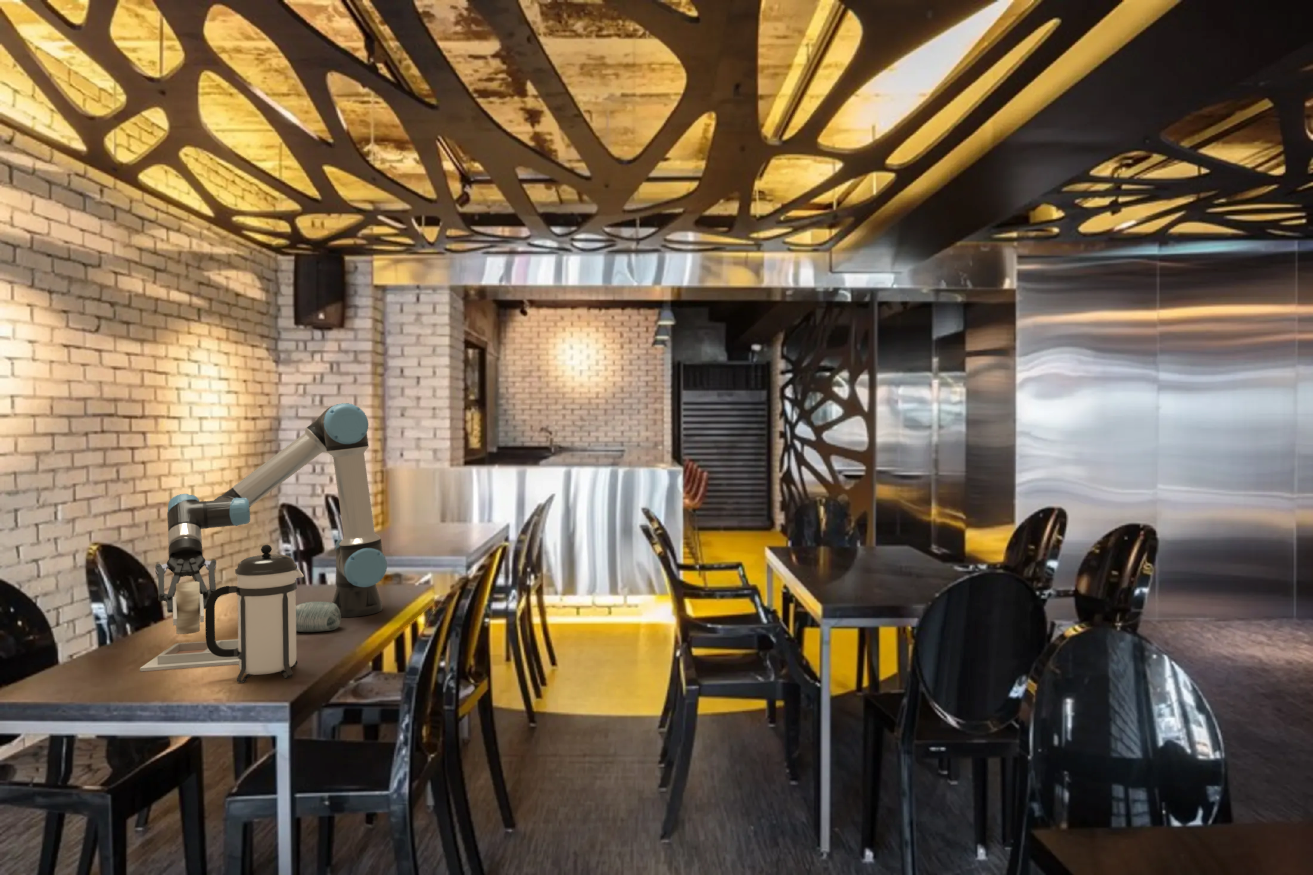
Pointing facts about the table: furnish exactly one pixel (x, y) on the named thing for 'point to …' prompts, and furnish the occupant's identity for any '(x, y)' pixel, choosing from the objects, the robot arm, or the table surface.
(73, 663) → the table surface
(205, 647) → the white flat tray
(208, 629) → the coffee press
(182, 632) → the peg
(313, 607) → the yarn ball
